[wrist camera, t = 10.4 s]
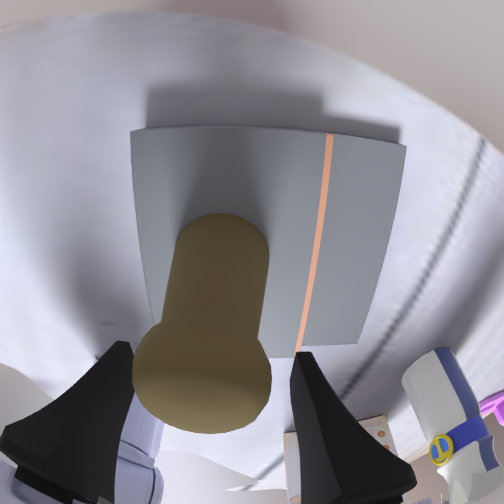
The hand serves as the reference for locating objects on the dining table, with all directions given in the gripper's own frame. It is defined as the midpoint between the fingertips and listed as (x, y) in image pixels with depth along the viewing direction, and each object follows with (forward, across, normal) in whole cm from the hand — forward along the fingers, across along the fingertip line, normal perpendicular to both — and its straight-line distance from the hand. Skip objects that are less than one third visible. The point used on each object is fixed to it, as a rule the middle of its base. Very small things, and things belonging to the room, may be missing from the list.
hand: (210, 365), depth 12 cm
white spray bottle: (+11, -24, +16) cm, 31 cm away
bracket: (+11, -54, +34) cm, 64 cm away
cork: (+8, 0, -1) cm, 8 cm away
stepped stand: (+10, -3, 0) cm, 11 cm away
